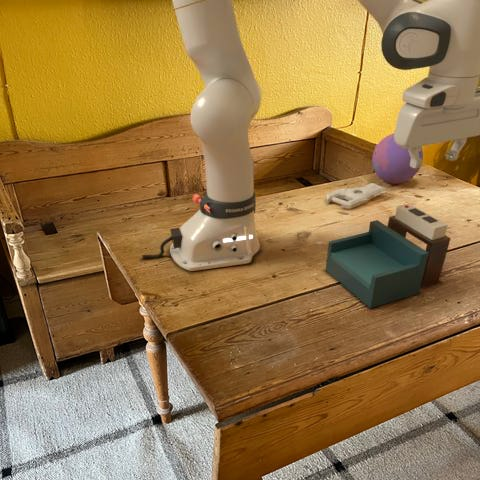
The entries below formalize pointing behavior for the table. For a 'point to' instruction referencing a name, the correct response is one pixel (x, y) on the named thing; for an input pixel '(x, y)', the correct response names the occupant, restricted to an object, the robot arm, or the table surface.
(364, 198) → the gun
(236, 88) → the robot arm
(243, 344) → the table surface
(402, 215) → the remote
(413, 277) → the teal armchair
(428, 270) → the brown wooden box
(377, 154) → the decorative ball
